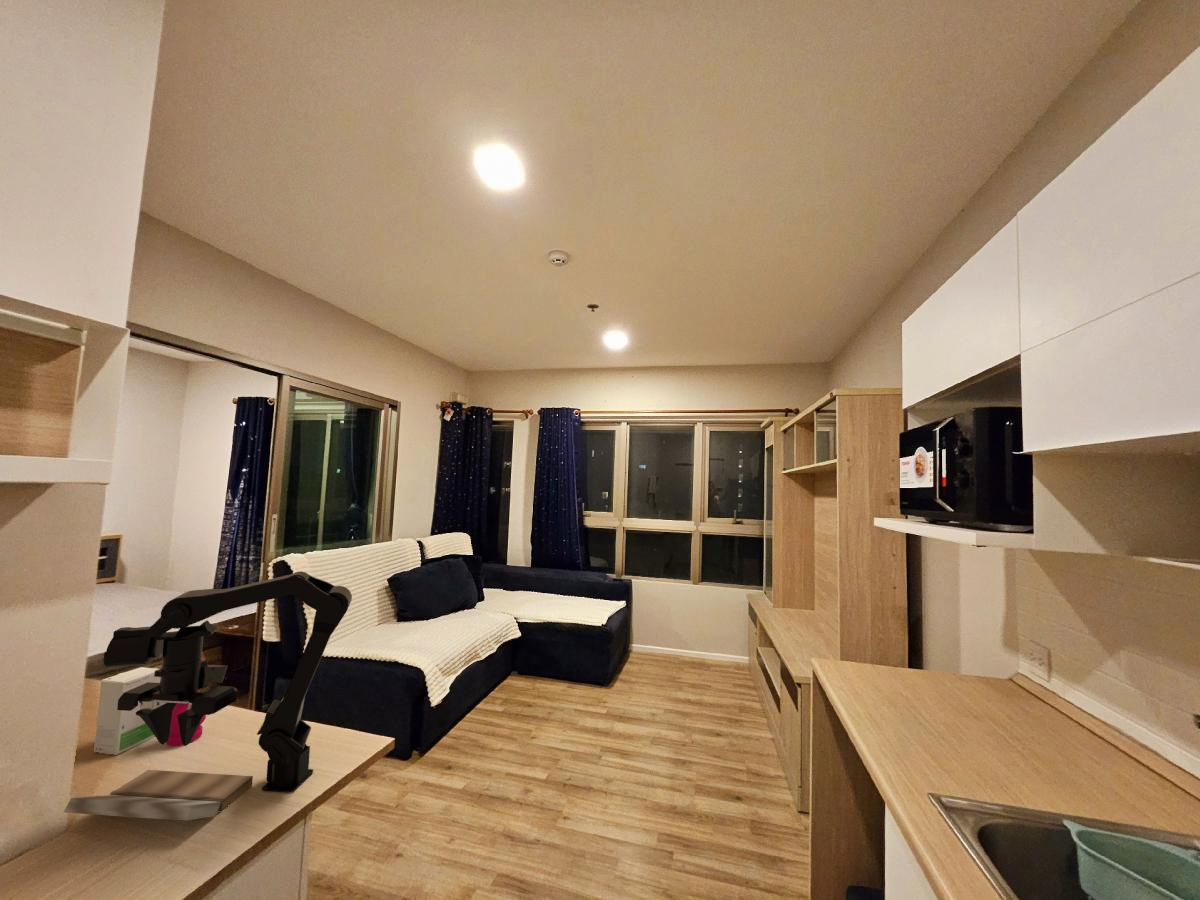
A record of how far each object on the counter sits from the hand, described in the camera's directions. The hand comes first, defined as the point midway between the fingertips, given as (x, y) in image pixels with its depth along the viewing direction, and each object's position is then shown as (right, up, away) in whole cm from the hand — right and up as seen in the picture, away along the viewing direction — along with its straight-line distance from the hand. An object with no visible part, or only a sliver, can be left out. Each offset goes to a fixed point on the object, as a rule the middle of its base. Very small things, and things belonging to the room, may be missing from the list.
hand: (175, 744), depth 87 cm
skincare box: (-28, -11, +17) cm, 35 cm away
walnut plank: (0, -11, +2) cm, 11 cm away
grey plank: (-1, -9, -6) cm, 10 cm away
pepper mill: (-17, -12, +20) cm, 29 cm away
